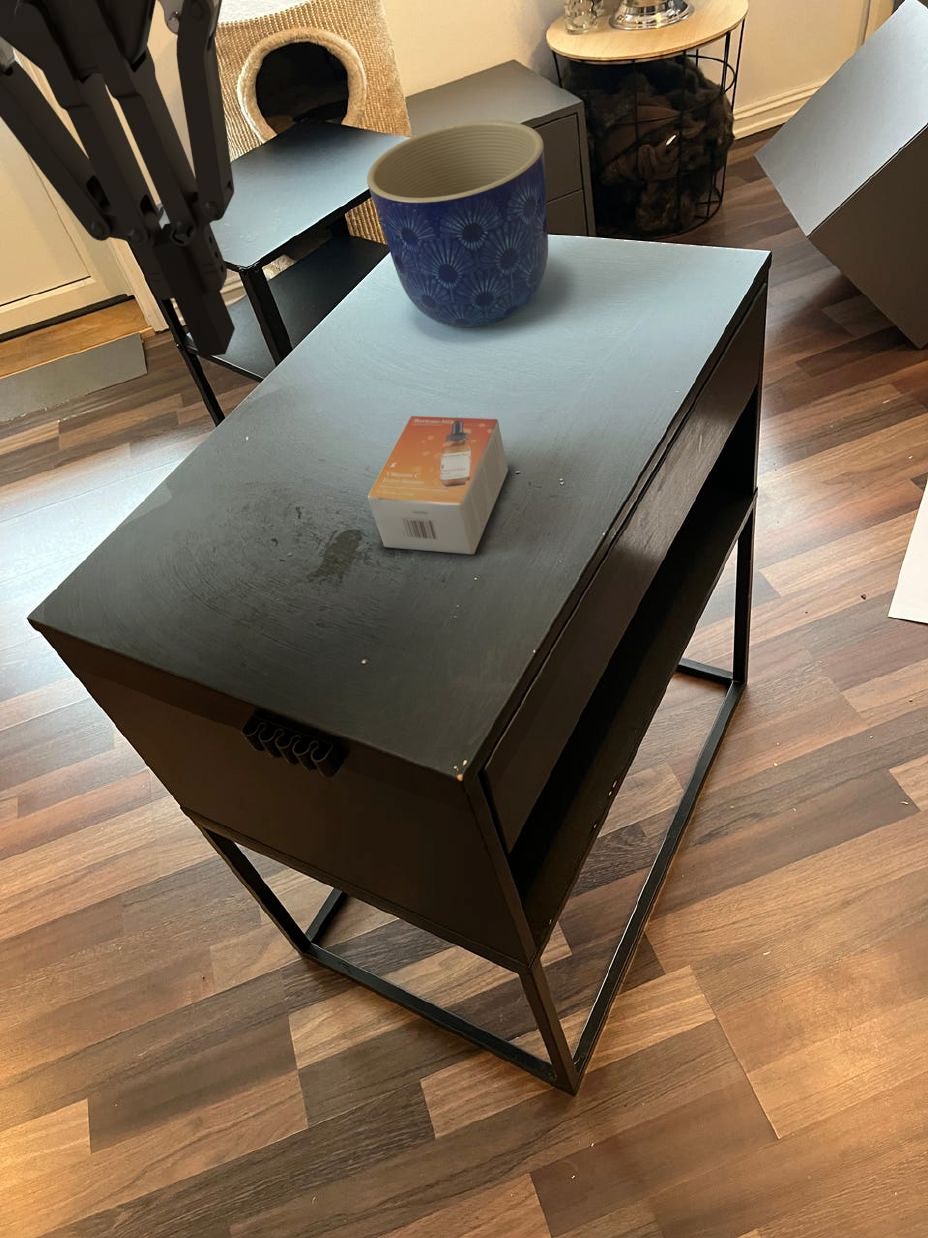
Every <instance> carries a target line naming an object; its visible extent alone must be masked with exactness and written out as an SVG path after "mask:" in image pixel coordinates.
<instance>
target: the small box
mask: <svg viewBox="0 0 928 1238" xmlns="http://www.w3.org/2000/svg"><path fill="white" fill-rule="evenodd" d="M501 433H502V432H501V428H500V424H499V420H498V419H497V418H476V417H475V418H474V417H444V416H424V415H423V416H421V415H420V416H419V415H411V416H410V417H409V419H408V421H407V423H406V425H405V426H404V428H403V430H402V432H401V434H400V435H399V437H398V438H397V441H396V443H395V445H394V447H393V448H392V451H390V454H389V456H388V458H387V460H386V462H385V463H384V465H383V467H382V469H381V471H379V474H378V476H377V478H376V480H375V482H374V484H373V486H372V487H371V489H370V491H369V493H368V495H367V500H368V502H369V505H370V508H371V512H372V515H373V517H374V521H375V524H376V526H377V530H378V532H379V535H380V538H381V541H382V544H383V547H385V548H391V549H403V550H414V551H415V550H416V551H427V552H439V553H450V554H462V555H463V554H464V555H475V553H476V551H477V548H478V546H479V543H480V541H481V539H482V536H483V533H484V531H485V529H486V527H487V523H488V521H489V519H490V516H491V514H492V512H493V509H494V506H495V504H496V501H497V500H498V496H499V494H500V492H501V490H502V487H503V484H504V483H505V482H504V481H505V480H506V478H507V474H508V472H509V468H508V463H507V459H506V454H505V448H504V444H503V439H502V434H501Z"/></svg>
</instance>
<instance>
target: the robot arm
mask: <svg viewBox="0 0 928 1238" xmlns="http://www.w3.org/2000/svg"><path fill="white" fill-rule="evenodd" d="M156 1H157V2H158V3H159V4H160V6H161V8H162V10H163V11H162V12H163V18H164V19H163V20H164V23H165V26H166V28H167V29H168V30H169V31H170V32H171V33H172V34H174V35H175V36H177V37H176V63H177V71H178V76H179V83H180V89H181V95H182V102H183V108H184V114H185V120H186V126H187V127H186V128H187V133H188V134H187V135H188V139H189V146H190V152H191V159H192V165H193V169H192V166H191V163H190V161H189V159H188V156H187V154H186V151H185V149H184V146H183V143H182V141H181V138H180V136H179V133H178V130H177V128H176V126H175V122H174V120H173V118H172V115H171V113H170V109H169V107H168V105H167V103H166V99H165V97H164V95H163V93H162V90H161V87H160V84H159V82H158V79H157V75H156V66H155V61H154V59H153V56H152V53H151V51H150V49H149V46H148V43H149V38H150V32H151V29H152V22H153V17H154V11H155V7H156ZM222 4H223V0H0V118H1V120H2V121H3V122H4V124H5V125H6V127H7V129H9V130H10V132H11V133H12V135H13V136H14V137H15V138H16V140H17V141H18V143H20V145H21V146H22V148H23V149H24V150H25V152H27V155H28V156H29V157H30V159H32V161H33V162H34V163H35V165H36V166H37V168H38V169H39V170H40V171H41V173H42V174H43V175H44V177H45V178H46V180H47V181H48V182H49V183H50V185H51V186H52V187H53V188H54V190H55V191H56V192H57V194H58V195H59V197H60V198H61V200H63V202H64V203H65V205H66V206H67V207H68V208H69V210H70V211H71V212H72V214H73V215H74V216H75V218H76V219H77V220H78V222H79V223H80V224H81V226H82V227H83V228H84V230H85V231H86V232H87V233H88V235H89V236H90V237H91V238H92V239H94V240H96V241H99V242H103V241H107V240H108V239H109V238H111V239H115V240H122V241H125V242H127V243H129V244H130V245H131V246H132V247H133V249H134V250H135V251H136V254H137V255H138V256H137V257H138V258H139V260H140V262H141V264H142V266H143V269H144V271H145V273H146V275H147V278H148V279H149V281H150V283H151V286H152V289H153V290H154V292H155V294H156V295H157V296H158V297H159V298H160V299H161V300H162V301H166V300H172V299H174V302H175V304H176V306H177V309H178V310H179V313H180V315H181V317H182V319H183V322H184V324H185V326H186V328H187V331H188V333H189V335H190V338H191V340H192V342H193V344H194V345H195V349H196V351H197V352H198V355H199V357H200V359H201V358H209V357H215V356H222V355H226V354H227V351H228V348H229V346H230V343H231V340H232V338H233V335H234V332H235V330H236V326H235V325H234V322H233V320H232V317H231V315H230V312H229V310H228V308H227V304H226V303H225V300H224V297H223V295H222V293H221V291H222V290H223V288H224V286H225V284H226V281H227V278H228V267H227V265H226V264H227V263H226V262H225V260H224V257H223V254H222V252H221V249H220V247H219V244H218V242H217V239H216V237H215V234H214V231H213V229H212V226H211V223H213V222H219V221H220V220H223V217H224V216H225V214H226V212H227V210H228V207H229V206H230V203H231V201H232V199H233V196H234V195H235V183H234V176H233V168H232V161H231V153H230V152H231V151H230V146H229V138H228V137H229V136H228V131H227V123H226V114H225V107H224V100H223V91H222V83H221V75H220V67H219V61H218V53H217V45H216V34H217V30H218V29H217V28H218V23H219V19H220V14H221V8H222ZM14 49H15V50H16V52H18V53H19V54H21V55H22V56H23V57H24V58H26V59H27V60H28V61H29V62H31V63H32V64H33V65H35V66H36V67H37V68H38V69H39V70H40V71H41V72H42V73H43V75H44V77H45V79H46V81H47V83H48V86H49V88H50V90H51V92H52V94H53V97H54V99H55V100H56V101H55V102H57V105H58V106H59V107H60V108H61V109H62V110H64V111H65V112H66V113H67V115H68V117H69V119H70V122H71V123H72V126H73V128H74V130H75V132H76V134H77V136H78V138H79V141H80V143H81V145H82V146H80V144H79V143H78V142H77V140H76V139H75V137H74V136H73V135H72V133H71V131H70V130H69V129H68V127H67V126H66V124H65V123H64V122H63V120H62V119H61V117H60V116H59V115H58V114H57V112H56V111H55V109H54V108H53V106H52V105H51V103H50V102H49V100H48V99H47V98H46V96H45V95H44V94H43V93H42V91H41V89H40V88H39V86H38V85H37V84H36V83H35V81H34V80H33V78H32V77H31V76H30V75H29V73H28V72H27V71H26V70H25V68H23V67H22V65H21V64H20V63H19V61H17V60H16V57H15V52H14ZM111 97H112V98H113V99H114V100H116V101H117V103H118V105H119V107H120V110H121V111H122V115H123V117H124V119H125V122H126V123H127V126H128V128H129V131H130V132H131V135H132V137H133V140H134V142H135V144H136V147H137V149H138V151H139V154H140V156H141V158H142V160H143V164H144V166H145V167H146V170H147V172H148V175H149V177H150V180H151V182H152V184H153V187H154V189H155V191H156V193H157V194H156V195H157V196H158V198H159V200H160V203H161V206H160V207H159V206H158V205H157V204H156V201H155V198H154V197H153V194H152V192H151V190H150V187H149V185H148V182H147V181H146V178H145V176H144V174H143V171H142V168H141V166H140V164H139V162H138V159H137V158H136V154H135V152H134V150H133V148H132V145H131V143H130V140H129V138H128V135H127V133H126V131H125V129H124V127H123V125H122V122H121V120H120V117H119V115H118V113H117V110H116V108H115V105H114V102H113V100H112V99H111ZM82 147H83V148H82ZM84 151H85V152H84ZM193 171H194V172H193ZM164 213H165V215H166V217H167V219H168V221H169V223H164V225H163V227H162V226H161V223H160V222H161V220H162V218H163V216H164Z"/></svg>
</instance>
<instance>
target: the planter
mask: <svg viewBox="0 0 928 1238" xmlns="http://www.w3.org/2000/svg"><path fill="white" fill-rule="evenodd" d="M544 147H545V145H544V141H543V138H542V137H541V135H540V134H539V133H538V132H537V130H535V129H533V128H532V127H530V126H528V125H525V124H522V123H518V122H515V121H509V120H495V119H492V120H491V119H489V120H487V119H485V120H473V121H465V122H459V123H454V124H453V123H452V124H449V125H445V126H440V127H437V128H433V129H430V130H427V131H424V132H421V133H419V134H416V135H414V136H410V137H409V138H407V139H405V140H403V141H401V142H399V143H397V144H396V145H394V146H392V147H390V148H389V149H388V150H386V151H384V153H383V154H381V155H380V156H379V157H378V158H377V159H376V160H375V161H374V162H373V163H372V164H371V166H370V167H369V170H368V172H367V175H366V176H367V177H366V183H367V187H368V190H369V193H370V196H371V199H372V202H373V205H374V208H375V211H376V214H377V217H378V220H379V224H380V226H381V229H382V232H383V235H384V238H385V241H386V244H387V247H388V251H389V254H390V256H391V260H392V262H393V265H394V268H395V271H396V274H397V278H398V279H399V282H400V285H401V286H402V288H403V290H404V292H405V294H406V295H407V297H408V299H409V300H410V301H411V302H412V304H413V306H414V307H415V308H416V309H417V310H418V311H420V312H421V314H423V315H425V316H426V317H428V318H429V319H431V320H433V321H435V322H437V323H439V324H441V325H445V326H448V327H449V326H450V327H456V328H476V327H477V328H478V327H483V326H488V325H491V324H495V323H497V322H501V321H503V320H505V319H507V318H509V317H511V316H512V315H514V314H516V313H518V312H519V311H520V310H521V309H523V308H524V307H525V306H526V305H527V304H528V303H529V302H530V301H531V299H532V298H533V297H534V296H535V294H536V293H537V292H538V290H539V289H540V286H541V284H542V282H543V279H544V276H545V273H546V270H547V264H548V257H549V232H548V211H547V210H548V209H547V189H546V187H547V186H546V167H545V148H544Z"/></svg>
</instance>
